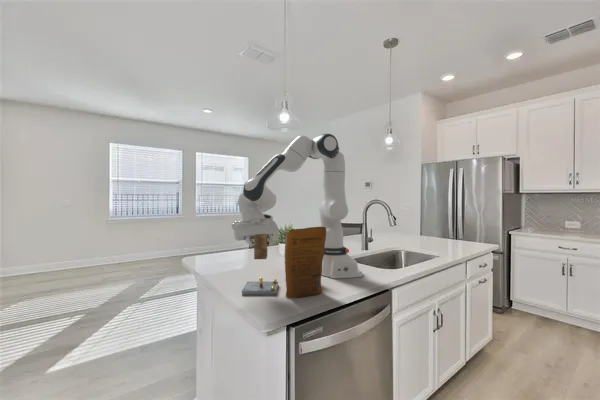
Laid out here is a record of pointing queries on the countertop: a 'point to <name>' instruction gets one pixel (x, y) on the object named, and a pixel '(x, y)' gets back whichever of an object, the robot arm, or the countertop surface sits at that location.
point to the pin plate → (260, 288)
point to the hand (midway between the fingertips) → (261, 245)
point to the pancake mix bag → (304, 261)
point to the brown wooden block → (260, 246)
